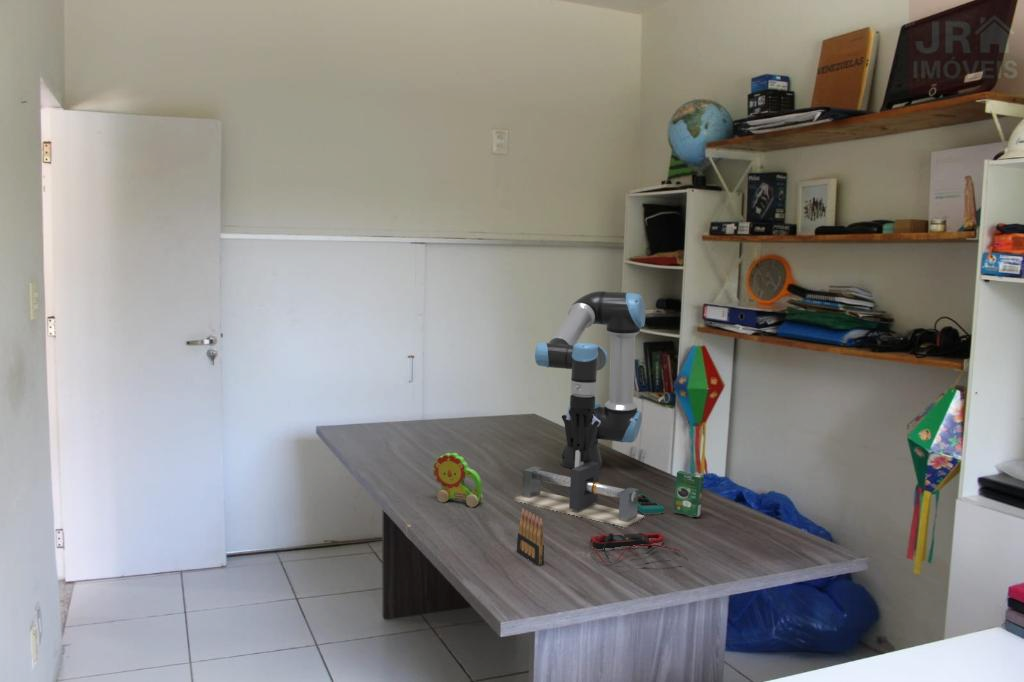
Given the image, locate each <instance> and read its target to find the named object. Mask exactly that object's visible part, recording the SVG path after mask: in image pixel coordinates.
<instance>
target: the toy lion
mask: <svg viewBox="0 0 1024 682" xmlns="http://www.w3.org/2000/svg"><path fill="white" fill-rule="evenodd" d="M432 474H433V477H435V481H436V482H437V483H438V484H440V485H441V486H440V487H441V490H439V491H438V492H437V495H436V498H437V500H438V501H439V502H440V503H443V502H444V503H446V502H448V500H451V499H456V498H457V499H458V498H459V499H463V500H465V503H466V505H467V506H468V507H470V508H475V507H476V506H477V505H479V504H480V503H482V501H483V500H484V496H483V493H482V491H483V485H482V483H483V482H482V479H481V476H480V475H479V473H478V472H477V471H475V470H474V469H472V468H470V467H469V464H468V462H467V461H466V460H465V458H464V457H463V456H460V455H459V453H456V452H453V453H450V452H447V453H445V454H443V455H441V456H438V457H437V459H436V461H434V463H433V470H432ZM466 477H468V478H471V479H472V480H473V483H474V490H473V489H472V488H471V487H470V486H468V485H467V484H466V483H465V479H466Z"/></svg>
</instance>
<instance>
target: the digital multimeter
mask: <svg viewBox="0 0 1024 682" xmlns="http://www.w3.org/2000/svg"><path fill="white" fill-rule="evenodd" d="M637 509H638V510H639V511H640V512H642V513H659V512H660V513H661V512H664V513H665V507H664V506H663V505H661V504H659V503H658V502H657V501H654V500H653V499H652V498H650V497H648V496H647V495H645V494H644V493H638V508H637Z"/></svg>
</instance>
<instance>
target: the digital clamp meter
mask: <svg viewBox="0 0 1024 682" xmlns="http://www.w3.org/2000/svg"><path fill="white" fill-rule="evenodd" d="M649 538H656V539H651V540H649ZM662 541H663V542H664V535H663V534H662V533H659V532H656V533H655V532H654V533H652V532H651V533H641V532H638V533H625V534H622V533H620V534H614V533H612V532H610V533H609V534H608V535H606V534H605V533H601V534H600V535H597V536H596V535H595V536H591V537H590V544H589V546H590V545H591V546H592V547H593V549H592V550H593V551H594V552H595V553H596V555H597V557H599V559H600V560H601V561H602V563H604V564H605V563H607V562H606V561H605V560H604V559H603V558H602V556H601V555H600V554H599V553H598V552H599V551H596V550H595V548H596V549H603V548H604V554H605V556H606V558H607V560H608V559H610V558H609V556H608V555H607V552H606V551H605V548H615V547H621V546H630V547H628V548H631V547H635V546H658V547H662V548H663V549H667V548H668V547H669V546H664V547H663V545H661V546H659V545H651V544H653V543H659V542H662ZM641 544H643V545H641ZM633 545H635V546H633ZM591 546H590V547H591ZM628 548H626V549H623V551H622V552H621V554H620V555H619V556H618V558H617V559H618V560H619V559H620V558H621V557H622V556H623V555H624V553H625V552H626V550H629V549H628ZM655 548H656V547H653V548H652V549H650V550H648V551H647V552H645V553H644V554H646V555H648V554H649V553H650V551H651V552H653V549H654V550H655ZM672 549H674V550H676V551H677V550H678V551H677V552H680V551H681V550H680V549H677V548H672V547H670V548H668V550H672ZM674 550H673V551H674Z"/></svg>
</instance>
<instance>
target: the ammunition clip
mask: <svg viewBox="0 0 1024 682" xmlns="http://www.w3.org/2000/svg"><path fill="white" fill-rule="evenodd" d="M543 527H544V523H543V519H542V517H540V518H539V516H538V515H536V516H535V514H534V513H533V514H532V512H531V511H528V509H526V510H525V508H524V507H522V509H521V513H520V520H519V527H518V533H517V538H516V539H517V540H516V553H518V554H519V555H520V556H522V555H523V556H522V557H524V558H525V559H527V560H528V559H529V560H528V561H529V562H531V561H532V562H533V563H532V562H531V563H532V564H534V563H535V564H536V566H537V565H539V566H543V564H544V563H545V562H544V561H545V559H544V558H545V545H544V528H543ZM535 564H534V565H535Z"/></svg>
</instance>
